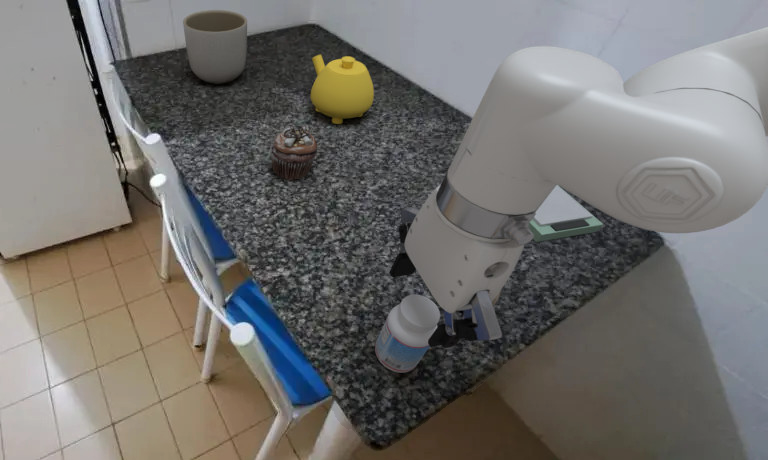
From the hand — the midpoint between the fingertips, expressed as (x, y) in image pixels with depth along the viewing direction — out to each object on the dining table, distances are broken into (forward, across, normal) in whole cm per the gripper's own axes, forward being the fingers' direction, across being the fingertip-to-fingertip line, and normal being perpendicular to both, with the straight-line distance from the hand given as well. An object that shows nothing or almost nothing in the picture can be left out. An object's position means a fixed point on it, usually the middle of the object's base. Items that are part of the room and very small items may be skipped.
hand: (419, 305), depth 47 cm
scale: (+12, +21, -41) cm, 48 cm away
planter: (+13, +91, +12) cm, 92 cm away
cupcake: (+12, +44, +3) cm, 45 cm away
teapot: (+13, +67, -15) cm, 70 cm away
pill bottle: (+12, 0, 0) cm, 12 cm away
